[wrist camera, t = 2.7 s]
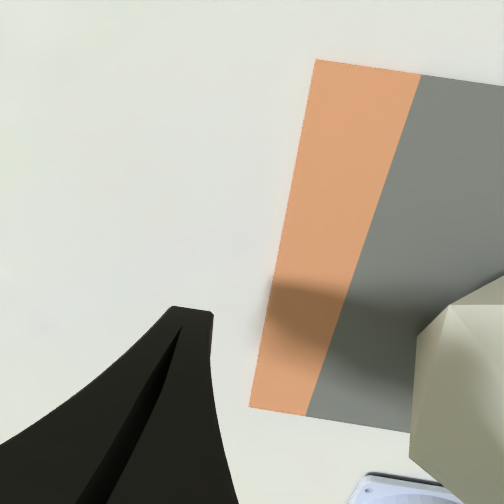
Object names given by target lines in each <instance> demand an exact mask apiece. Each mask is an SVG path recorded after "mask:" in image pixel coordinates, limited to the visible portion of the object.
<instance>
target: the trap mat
mask: <svg viewBox="0 0 504 504" xmlns="http://www.w3.org/2000/svg"><path fill="white" fill-rule="evenodd" d="M502 276H504V87H503V86H496V85H490V84H483V83H476V82H469V81H462V80H455V79H448V78H441V77H434V76H427V75H420V74H413V73H407V72H400V71H393V70H386V69H379V68H372V67H365V66H358V65H351V64H344V63H337V62H331V61H324V60H317V59H316V60H315V65H314V70H313V75H312V81H311V86H310V91H309V96H308V101H307V107H306V112H305V117H304V122H303V127H302V132H301V138H300V143H299V148H298V153H297V158H296V164H295V169H294V174H293V179H292V184H291V190H290V195H289V200H288V205H287V210H286V215H285V221H284V226H283V231H282V236H281V241H280V247H279V252H278V257H277V262H276V267H275V273H274V278H273V283H272V288H271V293H270V298H269V304H268V309H267V314H266V319H265V324H264V330H263V335H262V340H261V345H260V350H259V356H258V361H257V366H256V371H255V376H254V381H253V387H252V392H251V397H250V402H249V407H251V408H257V409H264V410H270V411H276V412H282V413H288V414H295V415H301V416H307V417H313V418H319V419H326V420H332V421H338V422H344V423H351V424H357V425H363V426H369V427H375V428H382V429H388V430H394V431H400V432H406V433H410V432H411V417H412V402H413V388H414V373H415V358H416V344H417V336H418V335H419V334H420V333H421V332H422V331H423V330H424V329H425V328H426V327H427V326H428V325H429V324H430V323H431V322H432V321H433V320H434V319H435V318H436V317H437V316H438V315H439V314H440V313H441V312H442V311H443V310H444V309H445V308H446V307H447V306H448V305H450V304H452V303H454V302H455V301H457V300H459V299H461V298H463V297H465V296H467V295H468V294H470V293H472V292H474V291H476V290H478V289H480V288H481V287H483V286H485V285H487V284H489V283H491V282H493V281H494V280H496V279H498V278H500V277H502Z"/></svg>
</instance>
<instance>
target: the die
mask: <svg viewBox="0 0 504 504" xmlns="http://www.w3.org/2000/svg"><path fill="white" fill-rule="evenodd" d="M409 458H410V459H411V460H413V461H414V462H415V463H416V464H417V465H419V466H420V467H421V468H422V469H423V470H425V471H426V472H427V473H428V474H429V475H431V476H432V477H433V478H434V479H435V480H437V481H438V482H439V483H440V484H441V485H443V486H444V487H445V488H446V489H447V490H449V491H450V492H451V493H452V494H453V495H455V496H456V497H457V498H458V499H459V500H461V501H462V502H463V503H464V504H504V276H502V277H500V278H498V279H496V280H494V281H493V282H491V283H489V284H487V285H485V286H483V287H481V288H480V289H478V290H476V291H474V292H472V293H470V294H468V295H467V296H465V297H463V298H461V299H459V300H457V301H455V302H454V303H452V304H450V305H448V306H447V307H446V308H445V309H444V310H443V311H442V312H441V313H440V314H439V315H438V316H437V317H436V318H435V319H434V320H433V321H432V322H431V323H430V324H429V325H428V326H427V327H426V328H425V329H424V330H423V331H422V332H421V333H420V334H419V335H418V336H417V344H416V358H415V373H414V388H413V402H412V417H411V432H410V446H409Z"/></svg>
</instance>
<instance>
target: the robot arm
mask: <svg viewBox="0 0 504 504" xmlns="http://www.w3.org/2000/svg"><path fill="white" fill-rule="evenodd" d="M213 318H214V315H213V314H212V313H211V312H210V311H203V310H197V309H191V308H184V307H178V306H172V307H170V308H169V309H168V310H167V311H166V312H165V313H164V314H163V315H162V317H161V318H160V319H159V320H158V321H157V322H156V323H155V324H154V325H153V326H152V327H151V328H150V329H149V330H148V331H147V332H146V333H145V334H144V335H143V336H142V337H141V338H140V339H139V340H138V341H137V342H136V343H135V344H134V345H133V346H132V347H131V348H130V349H129V350H128V351H127V352H126V353H124V354H123V355H122V356H121V357H120V358H119V359H118V360H117V361H115V362H114V363H113V364H112V365H111V366H110V367H108V368H107V369H106V370H105V371H104V372H103V373H102V374H100V375H99V376H98V377H97V378H96V379H94V380H93V381H92V382H91V383H89V384H88V385H87V386H86V387H84V388H83V389H82V390H80V391H79V392H78V393H76V394H75V395H74V396H72V397H71V398H70V399H68V400H67V401H66V402H64V403H63V404H62V405H60V406H59V407H57V408H56V409H54V410H53V411H51V412H50V413H49V414H47V415H46V416H44V417H43V418H41V419H40V420H39V421H37V422H36V423H34V424H33V425H31V426H30V427H28V428H27V429H25V430H23V431H22V432H20V433H19V434H17V435H16V436H14V437H12V438H11V439H9V440H7V441H6V442H4V443H2V444H1V445H0V504H239V503H238V500H237V496H236V493H235V490H234V486H233V482H232V478H231V474H230V471H229V467H228V463H227V459H226V456H225V452H224V448H223V443H222V438H221V434H220V429H219V424H218V419H217V414H216V408H215V402H214V395H213V387H212V379H211V368H210V354H211V342H212V330H213ZM348 504H464V503H463V502H462V501H461V500H459V499H458V498H457V497H456V496H455V495H453V494H452V493H451V492H450V491H449V490H447V489H446V488H445V487H440V486H434V485H428V484H422V483H415V482H409V481H403V480H397V479H391V478H385V477H379V476H373V475H368V476H365V477H363V478H362V480H361V481H360V483H359V485H358V487H357V488H356V490H355V492H354V493H353V495H352V497H351V499H350V500H349V502H348Z"/></svg>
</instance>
